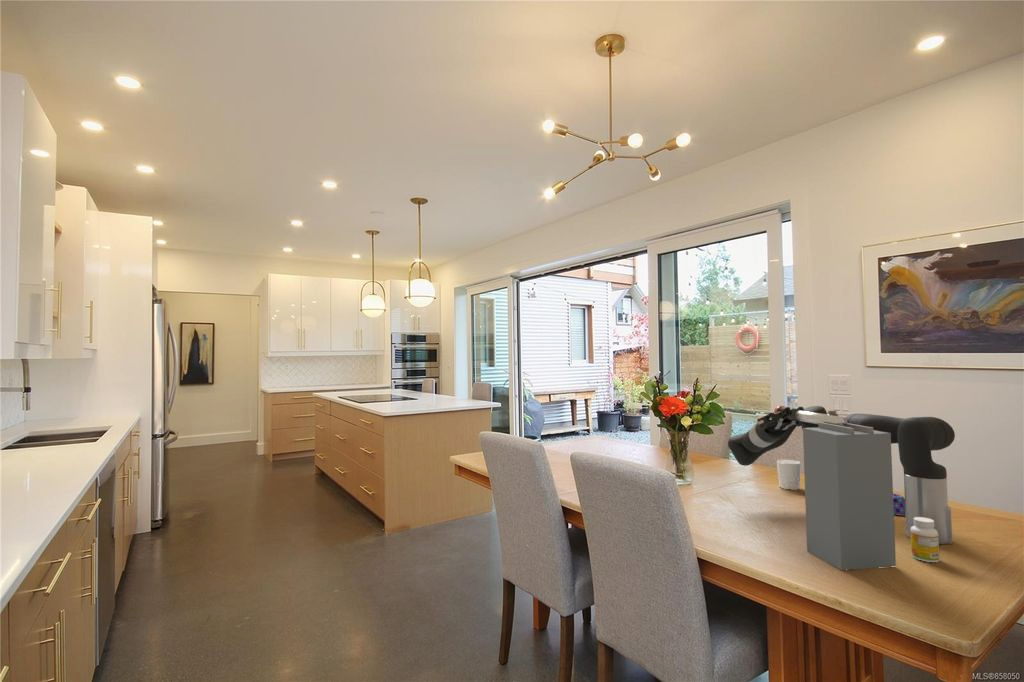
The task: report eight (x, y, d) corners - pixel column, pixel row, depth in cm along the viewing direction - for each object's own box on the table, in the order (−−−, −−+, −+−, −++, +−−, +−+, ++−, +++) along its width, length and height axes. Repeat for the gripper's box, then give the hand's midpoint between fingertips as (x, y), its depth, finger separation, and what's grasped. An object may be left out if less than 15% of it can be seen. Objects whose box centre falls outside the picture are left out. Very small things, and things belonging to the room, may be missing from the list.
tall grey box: (807, 551, 131) (802, 422, 132) (856, 548, 132) (852, 421, 133) (841, 570, 119) (836, 429, 120) (895, 567, 120) (890, 427, 121)
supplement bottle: (911, 552, 129) (910, 514, 129) (939, 557, 125) (937, 518, 126) (911, 559, 125) (909, 520, 125) (939, 565, 121) (938, 524, 121)
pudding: (863, 510, 164) (863, 494, 165) (879, 503, 171) (879, 488, 171) (908, 520, 154) (907, 502, 155) (923, 512, 161) (922, 496, 161)
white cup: (772, 486, 194) (772, 460, 195) (788, 484, 197) (788, 458, 197) (789, 491, 187) (788, 464, 187) (806, 489, 189) (805, 462, 189)
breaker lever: (774, 418, 152) (774, 405, 152) (786, 418, 153) (785, 405, 153) (835, 430, 127) (834, 415, 127) (848, 430, 128) (848, 415, 128)
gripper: (741, 421, 161) (768, 398, 146) (783, 420, 162) (814, 397, 148) (748, 444, 157) (777, 422, 142) (791, 442, 158) (824, 421, 144)
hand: (796, 409), depth 145 cm, fingers closed on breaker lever, 3 cm apart
